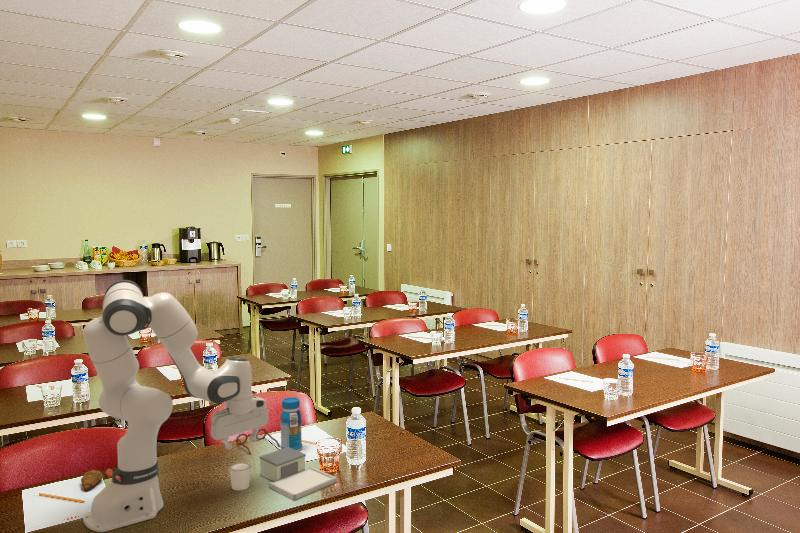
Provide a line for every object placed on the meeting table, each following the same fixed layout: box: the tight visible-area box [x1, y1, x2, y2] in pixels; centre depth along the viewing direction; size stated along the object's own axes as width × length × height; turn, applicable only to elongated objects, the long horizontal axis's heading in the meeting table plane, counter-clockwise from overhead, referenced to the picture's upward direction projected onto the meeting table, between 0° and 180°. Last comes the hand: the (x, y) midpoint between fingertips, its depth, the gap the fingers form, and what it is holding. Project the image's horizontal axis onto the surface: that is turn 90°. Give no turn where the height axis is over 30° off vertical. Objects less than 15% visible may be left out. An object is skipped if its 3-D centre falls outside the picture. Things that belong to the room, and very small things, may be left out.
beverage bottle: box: [279, 397, 303, 452], centre depth 233 cm, size 8×8×20 cm
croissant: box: [80, 469, 104, 492], centre depth 203 cm, size 14×7×5 cm, turn 14°
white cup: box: [229, 462, 252, 491], centre depth 201 cm, size 7×7×7 cm
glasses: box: [235, 428, 281, 456], centre depth 237 cm, size 13×13×5 cm
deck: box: [258, 447, 337, 501], centre depth 206 cm, size 18×25×7 cm
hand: (240, 444), depth 200 cm, fingers open, 8 cm apart
